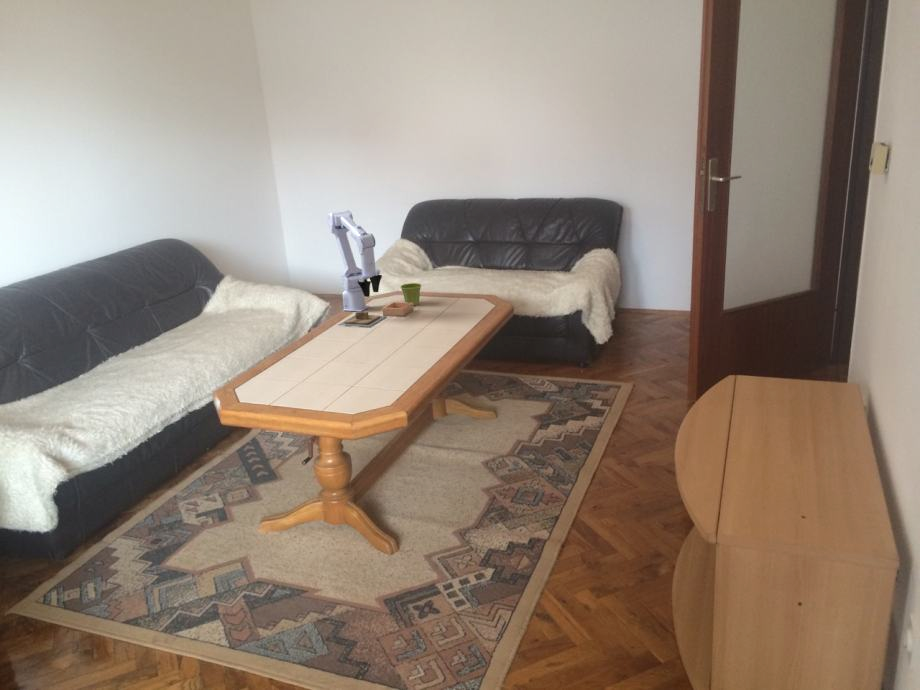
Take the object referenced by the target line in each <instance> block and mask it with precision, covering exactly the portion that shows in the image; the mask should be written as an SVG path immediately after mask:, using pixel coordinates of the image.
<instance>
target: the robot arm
mask: <svg viewBox="0 0 920 690" xmlns="http://www.w3.org/2000/svg"><path fill="white" fill-rule="evenodd" d="M327 223H328V226H329V230H330V233H331V234H333V235H334V237H335V239H336V243H337V245H338V249H339V252H340V256H341V259H342V263H343V265H344V268H345V270H344V272H342V275H341V280H342V286H343V289H344V291H343V292H342V303H343V304H342V305H343V309H342V311H345V312H358V311H359V312H364V311H365V310H366V309H368V308H370V305H367V304H366V298H369V297H370V295H371V293H370V291H371V290H370V288H372V292H373V293H379V290H380V282H381V280H382V278H383V275H382V274H381V270H380V269H378V268H377V269H376V259H375V251H374V250H375V249H374V248H375V246H376V238H375V236H374V235H373V233H368V232H367V231H366V230H365V229H364V228H363V227H362V226H361V225H358V224H356V223H355V221H354V217H353V214H352V212H351V211H350V210H349V209H348V210H342V211H337V212H330V213H328V215H327ZM349 231H350V232H349ZM348 233H350V236H351V237H352V239H354V240H355V242H356V245H357V248H358V253H359V254H360V263H361V264H360V265H361V268H360V267H357V264H356V261H355V257H354V254H353V251H352V248H351V245H350V241H349V238H348V235H347V234H348ZM368 280H369V281H368ZM347 308H348V309H347Z"/></svg>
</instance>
